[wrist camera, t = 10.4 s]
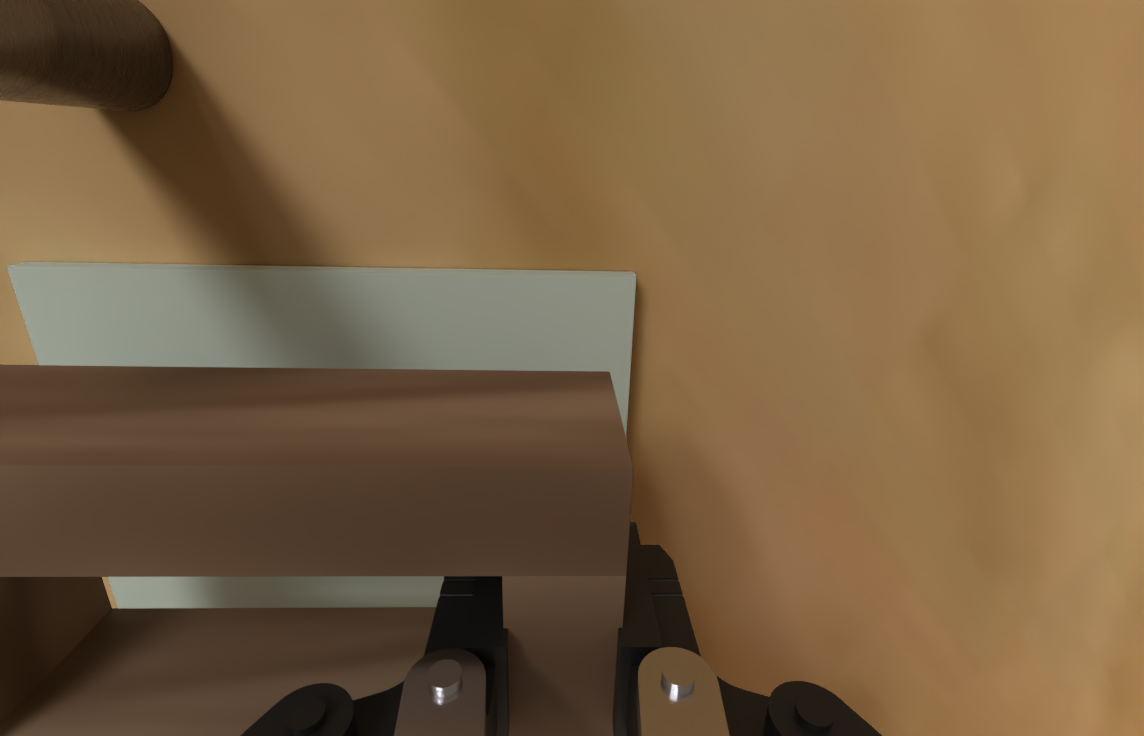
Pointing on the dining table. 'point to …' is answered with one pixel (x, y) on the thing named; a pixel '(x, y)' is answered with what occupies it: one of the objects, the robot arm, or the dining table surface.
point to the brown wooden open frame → (300, 536)
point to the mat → (321, 356)
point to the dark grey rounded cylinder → (83, 54)
